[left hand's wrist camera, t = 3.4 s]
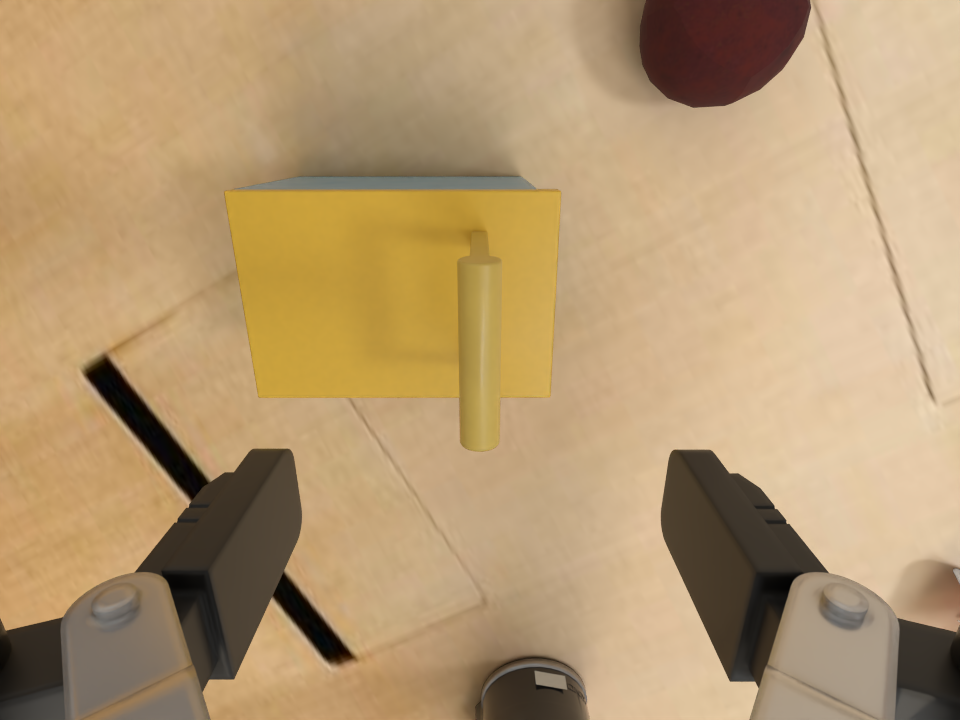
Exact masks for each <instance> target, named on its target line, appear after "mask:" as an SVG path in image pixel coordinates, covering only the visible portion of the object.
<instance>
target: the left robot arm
mask: <svg viewBox="0 0 960 720" xmlns="http://www.w3.org/2000/svg"><path fill="white" fill-rule="evenodd" d="M301 523H302V510H301V502H300V496H299V489H298V482H297V475H296V468H295V462H294V456H293V453H292V451H291V450H290V449H252V450H251V451H250V452H249V453H248V454H247V456H246V457H245V458H244V460H243V461H242V462H241V464H240V465H239V466H238V468H237V469H236V470H235V472H234V473H223V474H222V475H220V476H219V477H218V478H216V479H215V480H213V481H212V482H210V483H209V484H207V485H206V486H204V487H203V488H202V489H201V490H200V492H199V493H198V494H197V495H196V497H195V498H194V499H193V500H192V502H191V503H190V504H189V508H186V509H185V510H184V512H183V513H182V514H181V515H180V517H179V518H178V521H177V523H174V524H173V525H172V527H171V528H170V529H169V530H168V532H167V533H166V534H165V535H164V537H163V538H162V539H161V540H160V542H159V543H158V544H157V545H156V546H155V548H154V549H153V550H152V551H151V553H150V554H149V555H148V556H147V558H146V559H145V560H144V561H143V563H142V564H141V565H140V566H139V568H138V569H137V570H136V571H135V573H130V574H125V575H121V576H118V577H115V578H112V579H110V580H108V581H105V582H103V583H101V584H99V585H97V586H96V587H94V588H92V589H91V590H89V591H88V592H86V593H85V594H84V595H82V596H81V597H80V598H79V599H77V600H76V601H75V602H74V603H73V604H72V605H71V607H70V608H69V609H68V610H67V612H66V613H65V615H64V617H62V618H59V619H54V620H50V621H46V622H42V623H37V624H33V625H29V626H24V627H20V628H16V629H12V630H7V631H5V628H4V626H3V624H2V621H1V619H0V720H211V719H210V716H209V713H208V710H207V706H206V703H205V700H204V697H203V693H202V692H203V690H204V688H205V686H206V684H207V682H208V680H209V679H234V678H235V676H236V674H237V672H238V670H239V667H240V665H241V663H242V661H243V659H244V656H245V654H246V652H247V650H248V648H249V646H250V643H251V641H252V639H253V637H254V635H255V632H256V630H257V628H258V626H259V624H260V622H261V619H262V617H263V615H264V613H265V611H266V608H267V606H268V604H269V602H270V600H271V598H272V595H273V593H274V591H275V589H276V587H277V584H278V582H279V580H280V578H281V576H282V573H283V571H284V569H285V567H286V565H287V563H288V560H289V558H290V556H291V554H292V552H293V549H294V547H295V545H296V543H297V541H298V538H299V534H300V530H301ZM661 526H662V533H663V537H664V540H665V542H666V545H667V547H668V549H669V551H670V553H671V555H672V557H673V560H674V562H675V564H676V566H677V568H678V570H679V573H680V575H681V577H682V579H683V581H684V583H685V586H686V588H687V590H688V592H689V594H690V596H691V598H692V601H693V603H694V605H695V607H696V609H697V611H698V614H699V616H700V618H701V620H702V622H703V624H704V627H705V629H706V631H707V633H708V635H709V637H710V639H711V642H712V644H713V646H714V648H715V650H716V652H717V655H718V657H719V659H720V661H721V663H722V665H723V668H724V670H725V672H726V674H727V676H728V678H729V680H730V681H755V682H756V684H757V686H758V688H759V690H758V693H757V697H756V700H755V703H754V706H753V710H752V713H751V716H750V719H749V720H960V626H959V628H958V630H957V632H953V631H949V630H945V629H940V628H936V627H932V626H927V625H923V624H919V623H915V622H910V621H906V620H902V619H899V618H897V617H896V615H895V613H894V612H893V610H892V609H891V608H890V607H889V605H888V604H887V603H886V602H885V601H884V600H883V599H881V598H880V597H879V596H878V595H876V594H875V593H874V592H872V591H871V590H869V589H868V588H866V587H864V586H863V585H861V584H859V583H857V582H855V581H852V580H850V579H848V578H845V577H842V576H839V575H835V574H830V573H829V572H828V571H827V570H826V569H825V568H824V566H823V565H822V564H821V563H820V561H819V560H818V559H817V558H816V556H815V555H814V554H813V553H812V552H811V550H810V549H809V548H808V547H807V545H806V544H805V543H804V542H803V540H802V539H801V538H800V537H799V535H798V534H797V533H796V532H795V531H794V529H793V528H792V527H791V526H790V524H787V523H786V519H785V518H784V517H783V516H782V514H781V513H780V512H779V511H778V510H777V509H775V508H774V505H773V503H772V502H771V501H770V500H769V498H768V497H767V496H766V495H765V493H764V492H763V491H762V490H761V489H760V488H759V487H758V486H756V485H755V484H753V483H752V482H750V481H749V480H747V479H746V478H744V477H743V476H741V475H740V474H729V472H728V471H727V470H726V468H725V467H724V466H723V464H722V463H721V462H720V460H719V459H718V458H717V456H716V455H715V454H714V453H713V451H711V450H673V451H672V452H671V454H670V457H669V461H668V468H667V475H666V481H665V488H664V495H663V501H662V508H661ZM476 720H590V718H589V713H588V708H587V696H586V691H585V687H584V684H583V682H582V680H581V678H580V677H579V676H578V674H577V673H576V672H574V671H573V670H572V669H571V668H569V667H567V666H566V665H564V664H561V663H559V662H556V661H552V660H548V659H538V658H533V659H523V660H518V661H514V662H511V663H509V664H506V665H504V666H502V667H500V668H499V669H497V670H496V671H495V672H493V673H492V674H491V675H490V676H489V678H488V679H487V680H486V682H485V684H484V686H483V688H482V693H481V702H480V703H479V704H478V705H476Z"/></svg>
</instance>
